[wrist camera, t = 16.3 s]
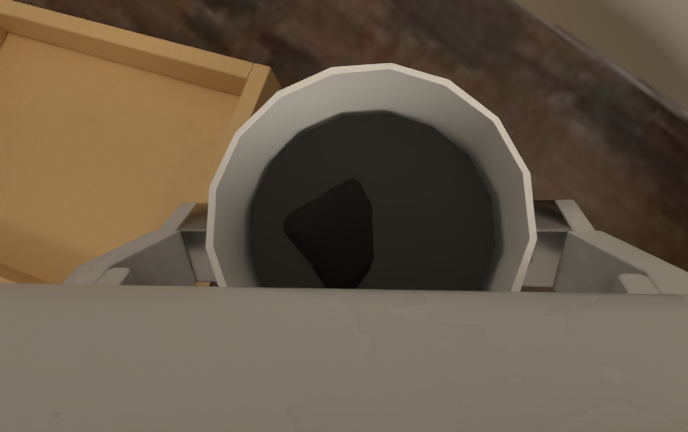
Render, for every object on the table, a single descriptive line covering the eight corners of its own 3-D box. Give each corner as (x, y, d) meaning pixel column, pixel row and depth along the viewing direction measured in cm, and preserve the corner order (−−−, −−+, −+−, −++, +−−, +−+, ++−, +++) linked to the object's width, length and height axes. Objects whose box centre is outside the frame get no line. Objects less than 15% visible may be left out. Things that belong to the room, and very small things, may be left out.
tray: (-109, 236, 22) (-172, 226, 19) (8, 20, 24) (-35, -13, 21) (181, 355, 19) (150, 361, 16) (285, 94, 21) (271, 66, 18)
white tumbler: (361, 382, 17) (316, 463, 8) (275, 247, 19) (150, 177, 9) (496, 286, 18) (615, 251, 8) (399, 161, 19) (401, 6, 10)
